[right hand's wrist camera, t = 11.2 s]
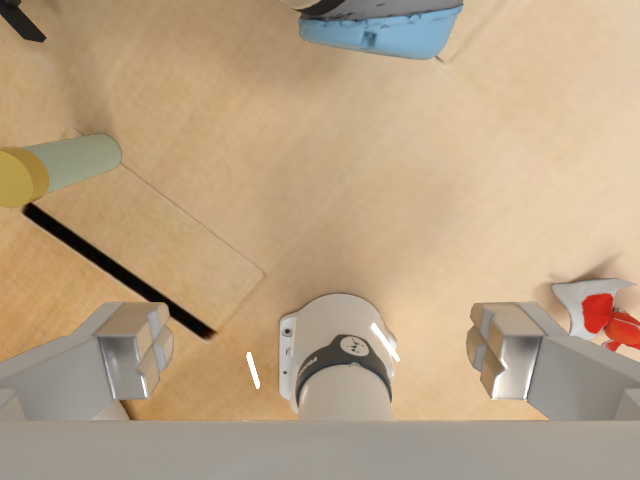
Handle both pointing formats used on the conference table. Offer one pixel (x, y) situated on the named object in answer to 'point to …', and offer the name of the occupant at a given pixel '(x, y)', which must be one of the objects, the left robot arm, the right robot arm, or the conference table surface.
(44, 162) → the jar
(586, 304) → the fish
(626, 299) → the conference table surface
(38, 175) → the lid
